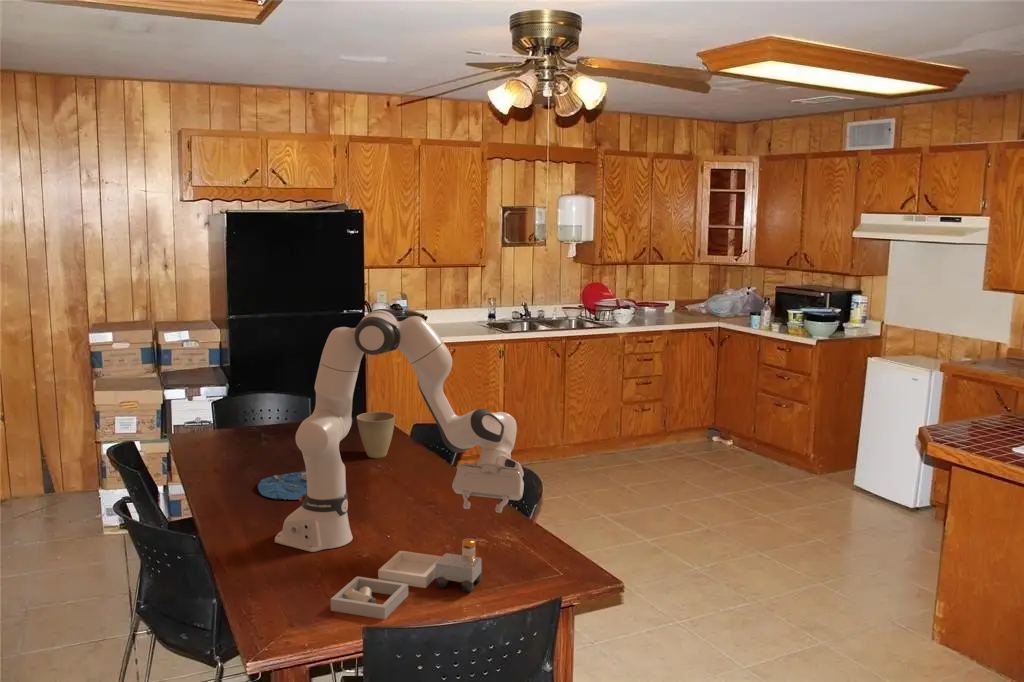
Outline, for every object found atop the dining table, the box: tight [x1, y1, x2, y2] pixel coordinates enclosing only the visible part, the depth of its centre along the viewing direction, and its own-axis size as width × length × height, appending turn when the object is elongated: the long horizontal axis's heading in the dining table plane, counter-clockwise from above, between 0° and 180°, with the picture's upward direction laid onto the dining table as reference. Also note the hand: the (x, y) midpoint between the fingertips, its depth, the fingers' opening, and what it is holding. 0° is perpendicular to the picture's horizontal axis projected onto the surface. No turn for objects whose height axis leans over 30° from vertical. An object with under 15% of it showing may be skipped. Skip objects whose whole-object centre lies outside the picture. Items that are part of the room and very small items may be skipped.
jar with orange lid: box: [461, 537, 476, 557], centre depth 225 cm, size 4×4×9 cm
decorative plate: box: [257, 471, 307, 501], centre depth 294 cm, size 30×30×5 cm
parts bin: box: [330, 576, 409, 620], centre depth 208 cm, size 14×13×3 cm
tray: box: [377, 550, 443, 589], centre depth 224 cm, size 13×13×3 cm
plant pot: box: [356, 411, 396, 459], centre depth 330 cm, size 15×15×16 cm
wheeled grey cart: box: [434, 552, 483, 594], centre depth 221 cm, size 10×14×6 cm
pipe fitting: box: [343, 587, 377, 604], centre depth 207 cm, size 8×4×7 cm
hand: (481, 509), depth 233 cm, fingers open, 8 cm apart
